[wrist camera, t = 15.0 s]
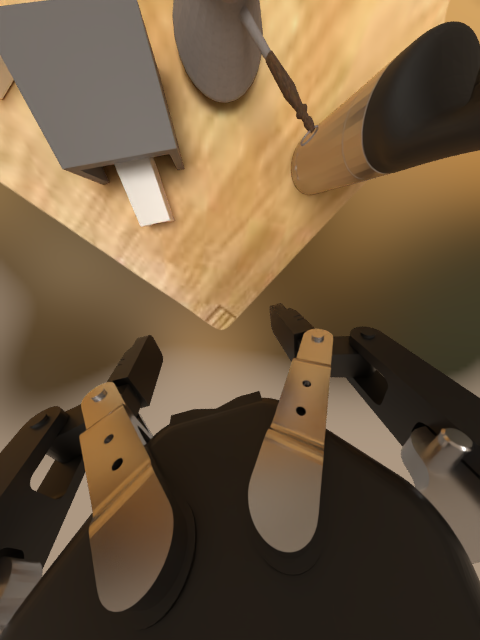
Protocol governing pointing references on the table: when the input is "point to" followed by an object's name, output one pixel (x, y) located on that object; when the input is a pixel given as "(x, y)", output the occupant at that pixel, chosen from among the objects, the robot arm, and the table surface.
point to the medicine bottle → (4, 78)
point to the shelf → (89, 81)
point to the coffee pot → (229, 51)
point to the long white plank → (145, 191)
